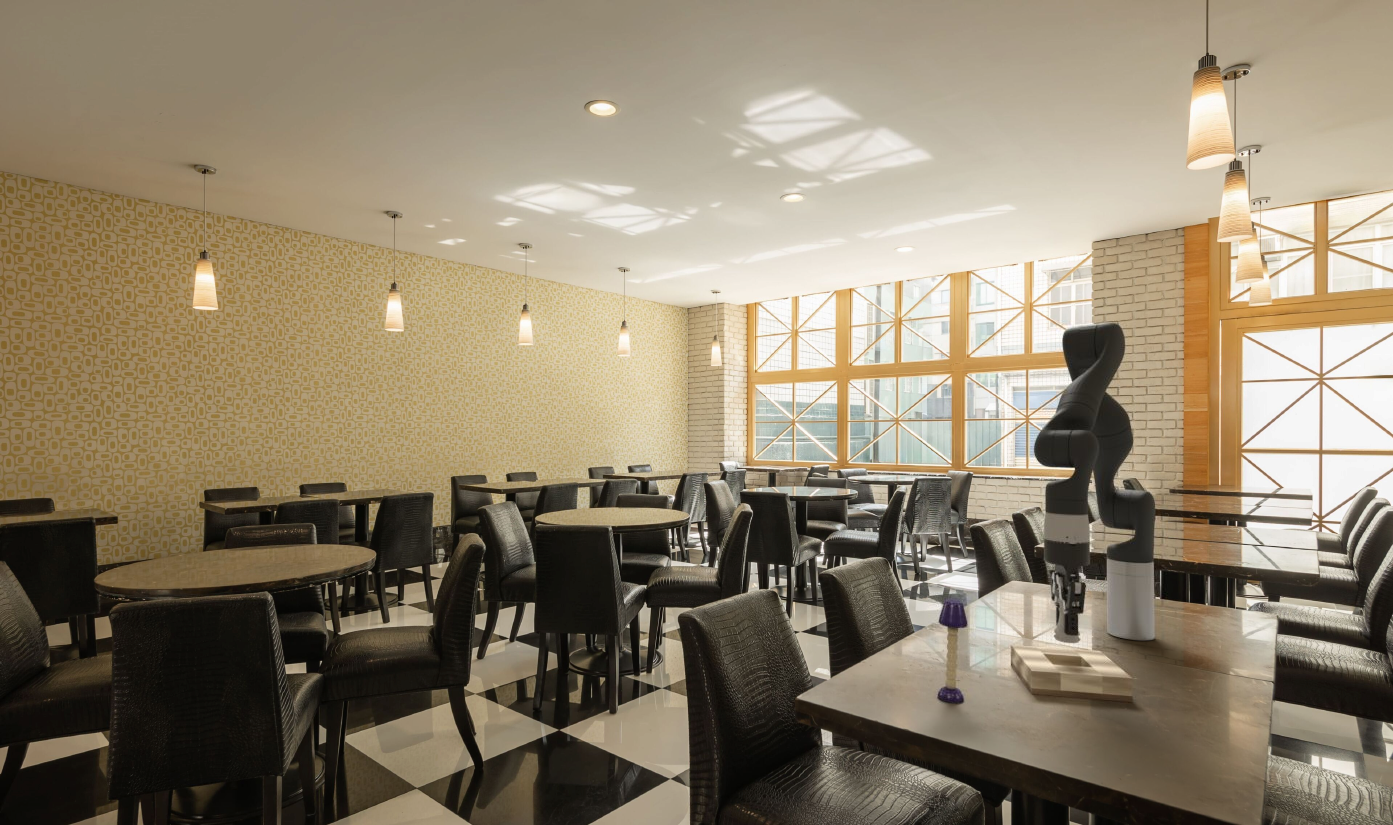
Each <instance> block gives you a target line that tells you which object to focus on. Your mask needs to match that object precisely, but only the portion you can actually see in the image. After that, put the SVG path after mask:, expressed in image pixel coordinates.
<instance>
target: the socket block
mask: <svg viewBox="0 0 1393 825" xmlns="http://www.w3.org/2000/svg"><path fill="white" fill-rule="evenodd" d="M1010 666H1011V667H1012V669H1013V670H1014V673H1016V675H1017V676H1018V677H1019V679H1020V680H1021V682H1023V685H1024V686H1025V687H1026V688H1027V689H1028V692H1029V693H1030V694H1031V695H1039V696H1054V697H1066V698H1075V699H1076V698H1077V699H1078V698H1079V699H1090V700H1103V701H1113V702H1114V701H1115V702H1116V701H1117V702H1124V703H1126V702H1127V703H1129V702H1130V703H1133V702H1134V700H1133V698H1134V697H1133V692H1134V691H1133V687H1134V686H1133V685H1134V684H1133V677H1132V676H1131V675H1129V674H1128V673H1127V672H1125V671H1124V670H1123V669H1122V668H1121V667H1120V666H1119V665H1117V664H1116V662H1114V661H1112V660H1111V659H1110V658H1109V657H1107V656H1106V655H1105V654H1104V653H1103V652H1102V651H1100V650H1089V649H1078V648H1077V649H1075V648H1063V647H1061V648H1060V647H1047V646H1036V645H1035V646H1034V645H1033V646H1031V645H1021V644H1020V645H1018V644H1017V645H1016V644H1010Z"/></svg>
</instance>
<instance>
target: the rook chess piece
mask: <svg viewBox="0 0 1393 825" xmlns="http://www.w3.org/2000/svg"><path fill="white" fill-rule="evenodd" d="M1067 596H1068V595H1067ZM1057 602H1058V603H1059V604H1060V608H1059V611H1060V615H1059V621H1058V625H1057V626H1056V627H1055V628H1054V630H1053V632H1054V635H1053V638H1054V640H1056V641H1057V642H1061V643H1067V644H1078V643H1079V642H1080V641H1081V638H1080V637H1079V636H1081V632H1080V630H1078V635H1076V636H1073V635H1066V634H1065V633H1064V611H1063V601H1061V600H1060V597H1059V599H1058V600H1057ZM1072 606H1075V603H1074V602H1072Z"/></svg>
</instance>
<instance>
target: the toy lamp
mask: <svg viewBox="0 0 1393 825" xmlns="http://www.w3.org/2000/svg"><path fill="white" fill-rule="evenodd" d="M966 615H967V614H966V610H965V605H964V603H963V602H962V601H960V600H958V599H951V598H948V599H945V600H944V602H943V605H942V608H941V610H940V613H939V617H938V623H939V624H940V625H942V626H944V627H947V633H948V634H947V635H946V636H947V637H946V638H947V645H946V648H947V652H946V659H947V660H946V663H945V668H946V670H945V677H946V678H945V686H942V687H941V688H940V689H939V691H938V692H937V698H938V699H939V700H942V701H943V702H947V703H952V704H953V703H954V704H957V703H958V704H959V703H962V702H964V701H965V698H964V695H963V694H964V693H963V692H962V691H961V690H960V689H959V688H957V687H956V686H957V681H956V679H957V668H958V663H957V661H958V653H957V652H958V644H957V643H958V641H959V637H958V633H959V629H965V628H967V626H968V619H967V616H966Z"/></svg>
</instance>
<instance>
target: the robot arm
mask: <svg viewBox="0 0 1393 825" xmlns="http://www.w3.org/2000/svg"><path fill="white" fill-rule="evenodd" d="M1061 341H1062V343H1061V345H1062V351H1063V356H1064V361H1065V364H1066V367H1067V371H1068V373H1069V377H1070V380H1071V382H1070V384H1068V386H1066V388H1065V389H1064V390H1063V391H1062V393H1061V396H1060V398H1059V401H1058V403H1057V404H1058V405H1057V407H1056V410H1055V414H1054V415H1053V416H1052V417H1051V418H1050V419H1049V421H1048V422H1047V423H1046V424H1045V425H1044V426H1043V428H1042V429H1041V430H1040V431H1039V433H1038V435H1037V436H1036V438H1035V441H1034V445H1033V454H1034V457H1035V459H1036V461H1037V462H1038V463H1039V464H1040V465H1041V466H1044V467H1047V468H1061V469H1062V468H1064V469H1074V471H1073V474H1072V475H1071V476H1070V477H1069V478H1065V479H1059V480H1053V481H1049V482H1048V483H1047V484H1046V486H1045V495H1044V497H1045V499H1044V500H1045V504H1044V505H1045V506H1044V507H1045V510H1044V511H1045V513H1044V520H1043V560H1044V561H1045V562H1046V563H1047V564H1050V565H1054V568H1053V569H1052V568H1050V569H1049V570H1048V573H1049V580H1050V581H1049V583H1050V594H1051V600H1052V601H1053V604H1054V606H1055V625H1056V627H1057V625H1058V621H1059V615H1060V611H1059V608H1060V604H1059V603H1058V602H1057V600H1058V599H1059V597H1060V600H1061V601H1063V611H1064V633H1065V634H1066V635H1073V636H1076V635H1078V631H1079V616H1080V615H1081V614H1084V612H1085V611H1084V610H1085V599H1086V590H1087V585H1086V582H1083V581H1082V576H1081V575H1080V569H1079V568H1080V567H1087V566H1089V565H1090V563H1091V562H1090V561H1091V560H1090V559H1091V557H1090V554H1091V547H1090V546H1091V543H1090V542H1091V541H1090V540H1091V536H1090V532H1091V528H1090V521H1089V488H1090V482H1091V478H1092V475H1093V479H1094V480H1093V481H1094V486H1095V488H1094V489H1095V496H1096V497H1095V498H1096V502H1097V504H1096V505H1097V510H1098V516H1099V519H1100V521H1101V523H1102V524H1103V525H1104V526H1105V527H1107V528H1109V529H1115V530H1125V531H1126V530H1128V531H1134V536H1133V537H1132V538H1130V539H1129V540H1125V541H1123V542H1117V543H1114V544H1110V545H1107V547H1106V613H1107V614H1106V620H1107V621H1106V626H1107V627H1106V628H1107V630H1106V632H1107V634H1109V635H1111V636H1114V637H1117V638H1122V639H1126V640H1133V641H1152V640H1155V575H1154V574H1155V573H1154V571H1155V570H1154V568H1155V566H1154V564H1155V562H1154V560H1155V559H1154V550H1155V521H1156V502H1155V499H1154V498H1155V497H1154V496H1153V494H1152V493H1151V492H1150V491H1147V490H1139V489H1122V488H1116V486H1115V482H1114V480H1115V477H1116V475H1117V473H1118V471H1119V470H1120V467H1121V466H1122V465H1123V463H1124V461H1126V459H1127V457H1128V456H1129V454H1130V453H1131V451H1132V449H1133V446H1134V434H1133V430H1132V424H1131V420H1130V415H1129V413H1128V412H1127V411H1126V409H1124V408H1125V407H1123V406H1122V405H1121V404H1120V403H1119V402H1118V401H1117V400H1116V399H1115V398H1114V397H1112V395H1110V394H1109V393H1108V392H1107V389H1108V388H1109V386H1110V384H1111V383H1112V381H1113V379H1114V378H1115V375H1116V373H1117V372H1118V370H1119V368H1120V366H1121V364H1122V361H1123V360H1124V356H1125V351H1126V338H1125V333H1124V331H1123V329H1122V327H1121V325H1119V324H1118V323H1116V322H1099V323H1093V324H1082V325H1075V326H1071V327H1068V328H1066V329H1065V330H1064V332H1063V334H1062V340H1061ZM1067 595H1068V596H1067ZM1072 602H1074V603H1075V606H1072Z"/></svg>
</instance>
